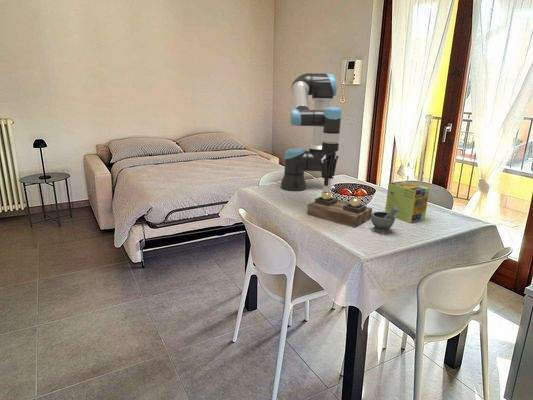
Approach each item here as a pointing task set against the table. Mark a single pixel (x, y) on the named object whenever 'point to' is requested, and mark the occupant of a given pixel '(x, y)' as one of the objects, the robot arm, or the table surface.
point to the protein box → (407, 200)
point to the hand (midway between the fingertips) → (326, 191)
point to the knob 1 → (326, 196)
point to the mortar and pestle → (383, 220)
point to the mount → (339, 212)
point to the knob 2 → (355, 202)
